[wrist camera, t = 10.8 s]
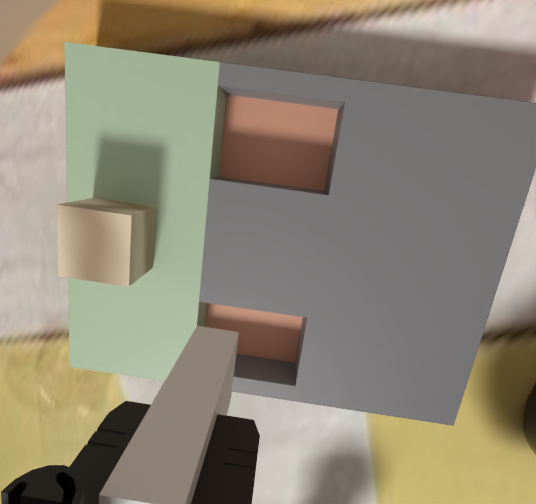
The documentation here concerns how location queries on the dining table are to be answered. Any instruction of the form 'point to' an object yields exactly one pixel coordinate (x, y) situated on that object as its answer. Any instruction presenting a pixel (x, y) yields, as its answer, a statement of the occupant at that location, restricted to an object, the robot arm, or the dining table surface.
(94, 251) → the birch block
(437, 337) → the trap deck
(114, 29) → the dining table surface
